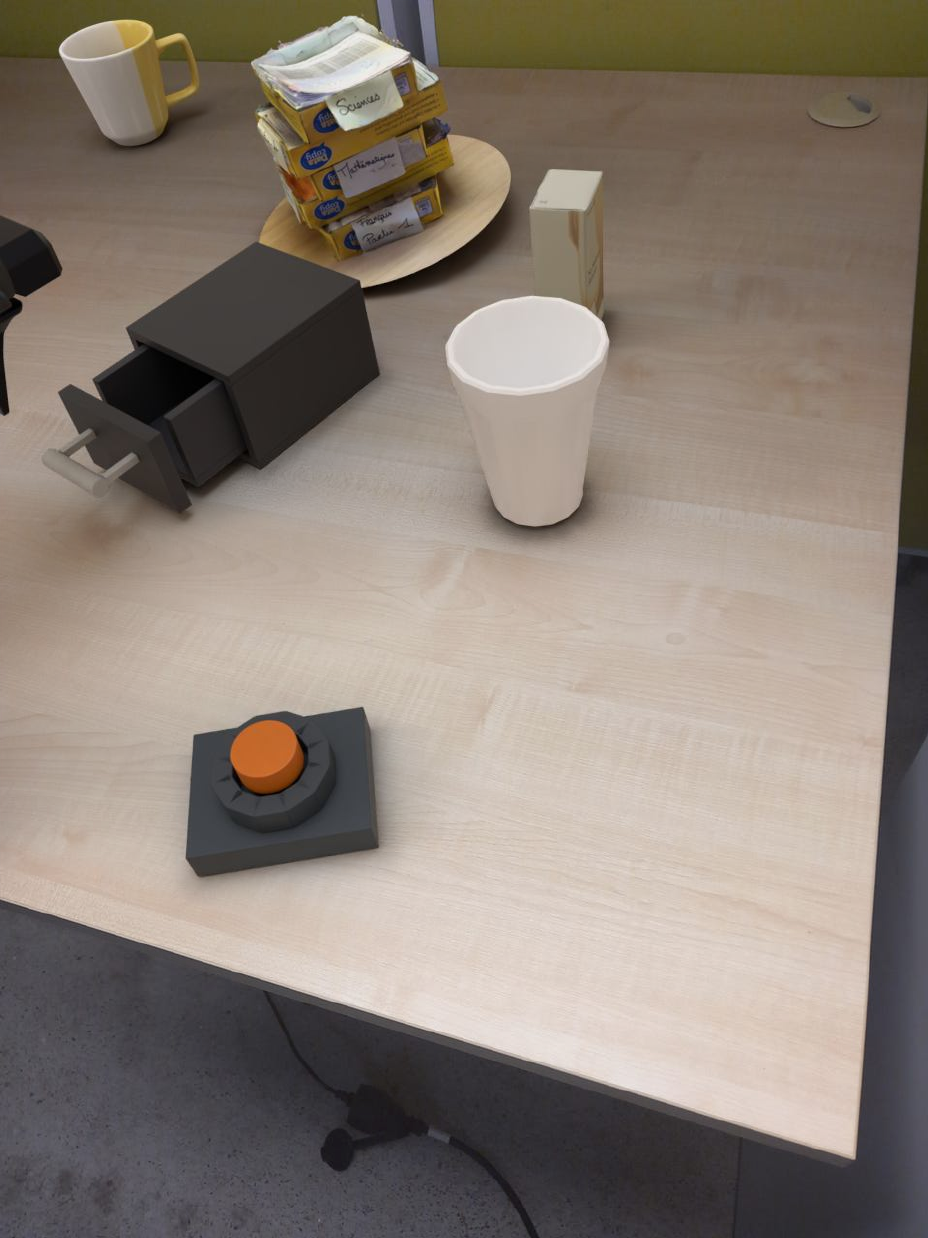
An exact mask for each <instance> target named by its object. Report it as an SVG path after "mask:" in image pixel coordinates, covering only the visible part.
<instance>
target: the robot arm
mask: <svg viewBox="0 0 928 1238" xmlns="http://www.w3.org/2000/svg"><path fill="white" fill-rule="evenodd" d="M63 269H64V268H63V267H62V264H61V262H60V259H59V257H58V255H57V253H56V251H55V248H54V246H53V244H52V243H51V242H50V240H49V239H48V238H47V237H46V236H45V235H44V234H43V232H41V231H39V230H37V229H35V228H32V227H30V226H28V225H25V224H23V223H20V222H18V221H16V220H14V219H11V218H9V217H7V216H4V215H1V214H0V415H1V416H3V417H5V416H7V415H9V414H10V403H9V393H8V386H7V385H8V384H7V377H6V368H5V357H4V356H5V355H4V347H5V346H4V345H5V344H4V343H5V342H4V339H5V338H4V337H5V332H6V330H7V329H8V327H9V325H10V323H11V322H12V321H13V319H14V318H15V317H16V316H18V315H20V314H21V313H22V312H23V307H24V304H23V302H22V300H21V299H18V298H17V297H15V296H16V295H17V296H20V297H23V298H26V297H28V296H30V295H32V294H33V293H34V292H36V291H38V290H40V289H41V288H43V287H45V286H46V285H48V284H50V283H52V282H53V281H55V280H57V279H58V278H59V277H61V275H62V272H63Z"/></svg>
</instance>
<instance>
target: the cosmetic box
mask: <svg viewBox="0 0 928 1238" xmlns="http://www.w3.org/2000/svg"><path fill="white" fill-rule="evenodd" d="M603 177H604V175H603V171H601V170H579V169H578V170H577V169H559V168H558V169H557V168H551V169H548V170H547V172H546V174H545V175H544V178H543V179H542V182H541V183H540V185H539V187H538V189H537V191H536V193H535V196H534V197H533V200H532V201H531V204H530V206H529V225H530V240H531V242H530V243H531V256H532V257H531V258H532V271H533V274H532V275H533V288H534V296H540V297H553V298H562V299H565V300H567V301H570V302H573V303H576V304H579V305H581V306H584V307H586V308H587V309H588V310H589V311H591V312H592V313H593V314H594V315H595V316H596V317H598V318H599V319H600V320H601V321H603V320H602V319H603V317H604V314H605V312H604V311H605V297H604V294H605V293H604V291H605V289H604V285H605V284H604V188H603V187H604V186H603V185H604V184H603V183H604V181H603V180H604V179H603Z"/></svg>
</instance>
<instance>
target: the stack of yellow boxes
mask: <svg viewBox="0 0 928 1238" xmlns="http://www.w3.org/2000/svg"><path fill="white" fill-rule="evenodd" d="M361 16H362V17H363V18H364V17H365V15H364V14H363V13H361ZM362 17H358V16H357V15H347V16H342V18H341V19H340V20H338V21H336V22H335V23H333V24H332V25H331V26H328V25H326V26H324V27H322V26H321V27H318V28H317V30H315V31H312V32H310V33H305V35H302V36H300V37H298V38H295V39H294V40H292V41H289V42H284V43H282V41H281V40H278V43H279V45H277V48H278V49H273V47H270V49H269V50H267V53H265V54H263V55H262V56H259V57H258V58H254V59H253V60H252V61H251V63H250V64H251V68H252V71H253V73H254V75H255V78H256V79H257V81H258V84H259V86H260V88H261V90H262V92H263V94H264V95H265V96H266V99H267V102H264V104H263V105H262V104H259V105H258V108H256V109H255V110H254V111H253V114H254V116H255V119H256V121H257V122H256V123H257V130H258V132H259V134H260V136H261V137H262V139H263V142H264V143H265V145H266V147H267V149H268V151H269V152H270V153H271V155H272V156H273V163H274V165H275V167H276V170H277V173H278V175H279V178H280V180H281V183H282V187H283V190H284V194H285V197H284V198H282V199H281V201H280V202H279V204H277V205H276V206H275V208H274V209H273V211H271V214H269V216H268V218H267V219H266V221H265V223H264V225H263V227H262V230H261V231H260V236H259V241H258V242H259V243H261V244H264V245H267V246H269V247H272V248H275V249H277V250H280V251H283V252H285V253H288V254H291V255H294V256H296V257H299V258H302V259H304V260H307V261H310V262H312V263H315V264H318V265H320V266H323V267H326V268H328V269H331V270H334V271H336V272H339V273H342V274H344V275H347V276H350V277H352V278H355V279H358V280H360V283H361V288H362V289H363V288H368V287H373V286H376V285H381V284H384V283H389V282H393V281H396V280H399V279H401V278H403V277H408V275H411V274H415V273H416V272H419V271H421V270H423V269H425V268H428V267H430V266H432V265H434V264H436V263H438V262H439V261H440V260H443V259H444V258H446V257H448V256H450V255H451V254H453V253H454V252H457V250H459V249H460V248H462V247H463V246H465V245H466V244H467V243H469V242H470V241H472V240H473V239H474V238H475V237H476V236H477V235H479V234H480V233H481V232H482V231H483V230H484V229H485V228H486V227H487V225H488V224H490V222H491V221H493V220H494V218H495V217H496V215H497V214H498V212H499V211H500V209H502V206H503V204H504V202H505V201H506V199H507V197H508V194H509V191H510V188H511V179H512V176H511V175H512V174H511V168H510V164H509V163H508V161H507V159H506V157H505V156H504V155H503V154H502V153H501V152H500V151H499V150H498V149H497V148H495V147H494V146H493V145H491V144H489V143H488V142H486V141H483V140H480V139H477V138H473V137H471V136H465V135H458V134H449V133H450V132H451V127H450V124H449V123H448V122H447V121H445V123H443V122H442V120H441V119H438V118H437V117H439V116H441V115H443V114H445V113H446V112H448V110H449V105H448V103H447V99H446V95H445V91H444V87H443V83H442V79H441V78H440V77H439V76H437V74H436V73H435V72H433V71H430V70H429V69H428V68H427V66H426V65H425V64H424V63H422V62H421V61H420V60H418V59H417V58H415V57H412V56H411V52H410V51H408V50H406V49H405V48H404V47H405V46H404V44H403V43H402V42H401V41H400V40H399V39H396V38H395V37H392V38H391V37H389V36H391V34H388V35H389V36H388V35H387V32H386V31H385V30H383V29H382V28H381V29H380V31H379V30H378V28H377V27H376V26H375V25H374V24H370V23H369V22H366V20H364V19H363V18H362ZM393 43H395V44H396V45H394V44H393ZM398 45H399V46H398Z"/></svg>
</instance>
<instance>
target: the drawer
mask: <svg viewBox="0 0 928 1238" xmlns="http://www.w3.org/2000/svg"><path fill="white" fill-rule="evenodd" d="M91 380H92V383H93V385H94V387H95V388H96V391H97V393H98V395H99V397H100V398H98V397H96V396H94V395H92V394H90V393H88V392H87V391H85V390H83V389H82V388H79V387H78V386H75V385H74V384H72V383H69V384H68V385H66V386H65V387H63V388H61V389H60V390H59V391H57V394H58V396H59V398H60V400H61V402H62V404H63V407H64V408H65V411H66V412H67V414H68V416H69V418H70V420H71V422H72V424H73V426H74V427H75V429H76V431H77V433H78V435H77V436H76V437H74V438H73V439H72V440H70V441H69V442H67V443H66V444H65V445H63V446H61V447H60V448H59V449H57V448H48V449H46V450H45V451H43V453H42V455H41V462H42V465H43V466H45V467H46V468H47V469H48V470H51V471H53V472H54V473H56V474H57V475H59V476H61V477H62V478H64V479H66V480H67V481H69V482H70V483H72V484H74V485H75V486H77V487H78V488H80V489H82V490H83V491H84V492H86V493H88V494H90V495H92V496H93V497H95V498H102V497H104V496H106V495H107V494H108V493H109V490H110V484H111V483H113V482H114V481H116V480H117V479H120V480H121V481H123V482H125V483H126V484H128V485H130V487H131V486H132V487H133V488H135V489H136V490H137V491H140V492H142V493H143V494H145V495H147V496H148V497H150V498H152V499H153V500H155V501H156V502H159V503H160V504H162V505H163V506H165V507H167V508H169V509H170V510H172V511H173V512H175V513H177V514H179V515H181V514H183V513H184V512H185V511H186V510H187V509H189V508H190V507H192V505H193V504H192V501H191V499H190V497H189V495H188V493H187V492H188V491H187V490H186V488H185V484H184V483H183V481H182V479H183V480H184V481H185V482H188V483H190V484H191V485H193V486H195V487H196V488H200V487H201V486H202V485H204V484H205V483H206V482H207V481H209V480H210V479H212V477H214V476H215V475H216V474H218V473H219V472H220V471H221V470H223V469H224V468H225V467H227V466H228V465H229V464H231V463H232V462H233V461H234V460H236V459H237V458H238V456H239V455H241V454H242V453H243V452H244V451H246V450H247V449H248V448H247V445H246V442H245V440H244V437H243V434H242V431H241V428H240V426H239V423H238V420H237V417H236V414H235V411H234V409H233V406H232V403H231V400H230V397H229V395H228V392H227V389H226V386H225V383H224V382H223V381H221V380H219V379H217V378H215V377H213V376H211V375H209V374H207V373H205V372H203V371H200V370H198V369H196V368H194V367H192V366H190V365H188V364H186V363H184V362H182V361H180V360H178V359H175V358H173V357H171V356H169V355H167V354H165V353H163V352H161V351H159V350H157V349H155V348H153V347H150V346H148V345H146V344H143V345H141V346H140V347H139V348H137V349H136V350H135V349H134V350H132V351H131V352H129V353H128V354H127V355H125V356H124V357H122V358H120V359H119V360H118V361H116V362H114V363H113V364H112V365H110V366H109V367H108V368H106V369H104V370H103V371H101V372H100V373H98V374H97V375H95V376H94V377H93V378H91ZM84 447H85V449H86V451H87V453H88V455H89V456H90V459H91V460H92V463H93V464H94V465H95V466H98V467H100V468H101V469H102V470H104V472H103V473H101V474H100V475H99V474H98V473H96V472H95V471H93V470H91V469H90V468H87V466H84V465H83V464H81V463H79V462H78V461H76V460H74V459H73V458H71V456H72V455H74V454H75V453H77V452H78V451H80V450H81V449H82V448H84Z"/></svg>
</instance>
